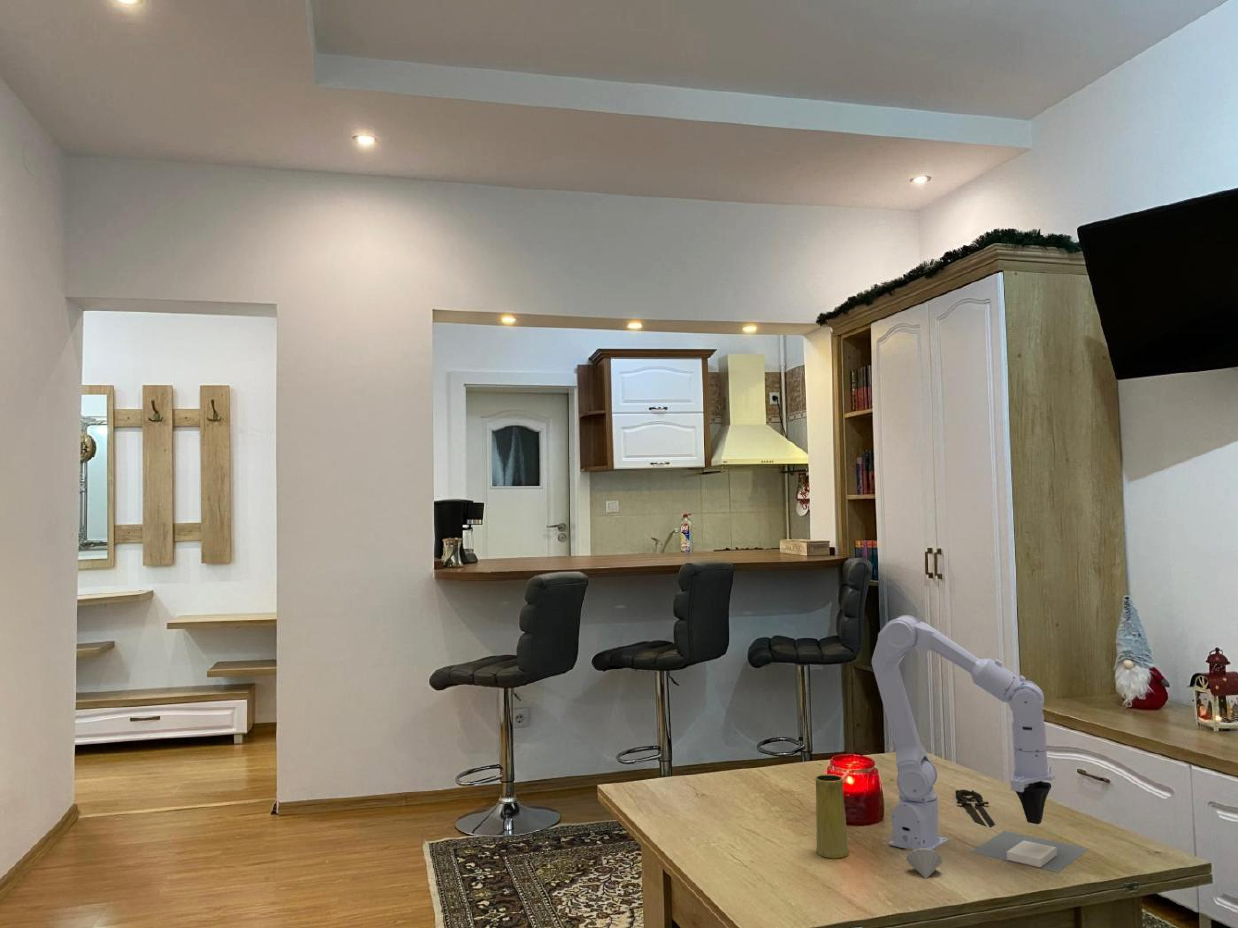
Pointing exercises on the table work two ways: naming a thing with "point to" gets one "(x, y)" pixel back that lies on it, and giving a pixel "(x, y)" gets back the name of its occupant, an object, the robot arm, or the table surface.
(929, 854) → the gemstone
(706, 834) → the table surface
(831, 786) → the vase
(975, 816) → the dark ornate flat tool
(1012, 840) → the mat
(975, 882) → the table surface
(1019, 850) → the tile
